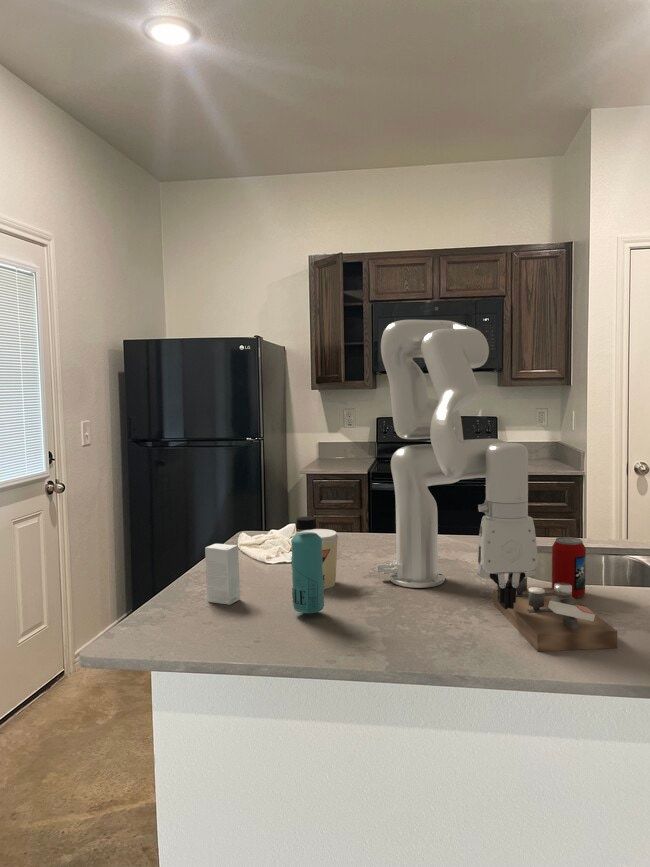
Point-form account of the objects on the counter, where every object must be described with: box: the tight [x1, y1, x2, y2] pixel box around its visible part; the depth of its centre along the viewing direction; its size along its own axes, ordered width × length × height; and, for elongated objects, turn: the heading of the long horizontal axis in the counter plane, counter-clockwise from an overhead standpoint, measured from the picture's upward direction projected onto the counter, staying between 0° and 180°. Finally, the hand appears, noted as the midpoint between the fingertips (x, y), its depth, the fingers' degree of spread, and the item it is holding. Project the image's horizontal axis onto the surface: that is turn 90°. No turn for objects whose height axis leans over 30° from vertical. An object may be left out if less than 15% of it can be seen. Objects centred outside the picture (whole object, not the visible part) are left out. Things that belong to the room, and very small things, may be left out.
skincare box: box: [204, 543, 241, 606], centre depth 143 cm, size 6×4×12 cm
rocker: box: [548, 601, 596, 621], centre depth 117 cm, size 7×3×1 cm, turn 94°
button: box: [554, 583, 572, 598], centre depth 129 cm, size 3×3×2 cm
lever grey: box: [516, 577, 528, 595], centre depth 133 cm, size 3×3×4 cm
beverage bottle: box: [290, 515, 326, 614], centre depth 133 cm, size 6×7×20 cm
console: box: [493, 587, 618, 652], centre depth 126 cm, size 14×24×5 cm, turn 3°
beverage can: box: [551, 536, 587, 599], centre depth 142 cm, size 7×7×12 cm
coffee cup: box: [299, 528, 339, 590], centre depth 153 cm, size 9×9×12 cm
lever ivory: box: [527, 586, 545, 610], centre depth 124 cm, size 3×3×4 cm
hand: (506, 606), depth 124 cm, fingers closed
